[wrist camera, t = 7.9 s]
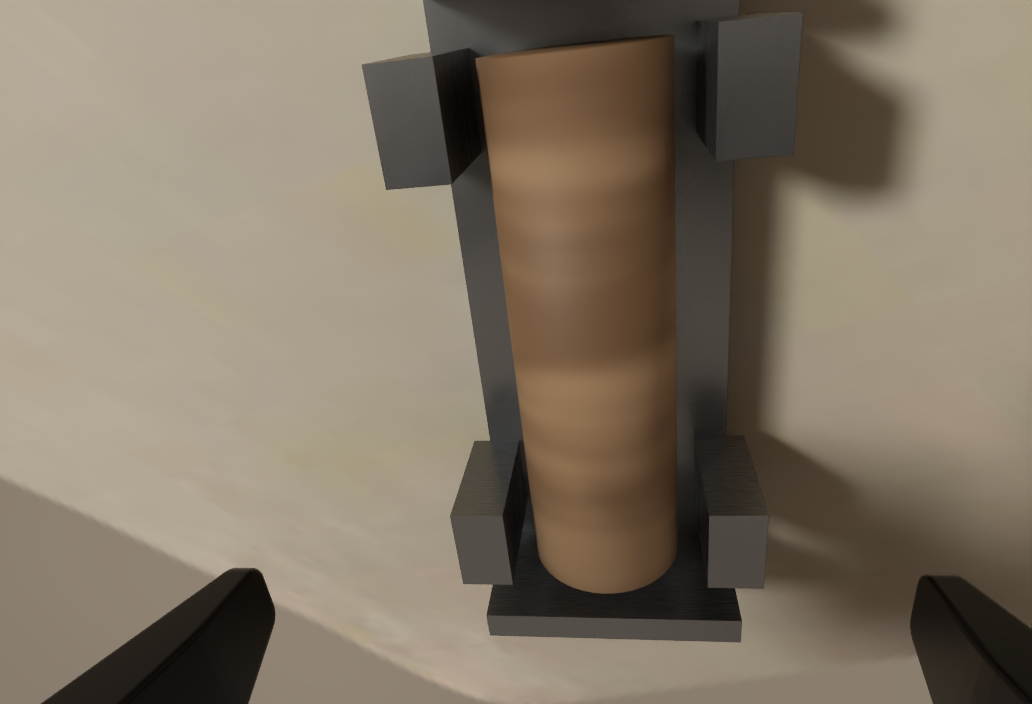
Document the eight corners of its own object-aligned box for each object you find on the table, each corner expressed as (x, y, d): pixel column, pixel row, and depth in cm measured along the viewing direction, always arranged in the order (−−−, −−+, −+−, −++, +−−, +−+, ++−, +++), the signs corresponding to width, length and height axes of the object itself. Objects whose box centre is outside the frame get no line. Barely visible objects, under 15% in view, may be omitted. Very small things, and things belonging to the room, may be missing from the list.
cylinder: (494, 52, 16) (454, 64, 12) (668, 32, 15) (680, 38, 11) (545, 495, 21) (528, 591, 18) (673, 496, 21) (682, 596, 17)
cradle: (758, -106, 14) (813, -152, 10) (733, 536, 22) (759, 650, 18) (404, -54, 16) (334, -77, 12) (498, 536, 24) (474, 642, 20)
